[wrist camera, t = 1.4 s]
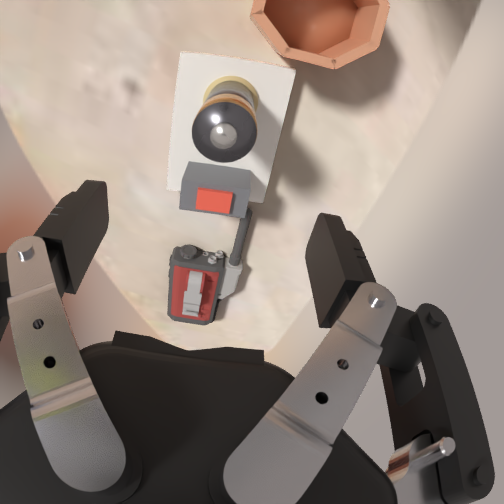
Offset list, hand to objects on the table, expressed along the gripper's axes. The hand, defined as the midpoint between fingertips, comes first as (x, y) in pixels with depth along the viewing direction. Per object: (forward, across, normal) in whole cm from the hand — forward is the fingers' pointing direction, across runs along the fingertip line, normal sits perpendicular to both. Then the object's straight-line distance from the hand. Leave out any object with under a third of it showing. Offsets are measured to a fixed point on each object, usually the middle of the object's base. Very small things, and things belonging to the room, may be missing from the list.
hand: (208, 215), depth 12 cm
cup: (+20, -5, -10) cm, 23 cm away
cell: (+18, 0, 0) cm, 18 cm away
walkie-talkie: (+21, 0, +21) cm, 29 cm away
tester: (+20, 0, +3) cm, 20 cm away
